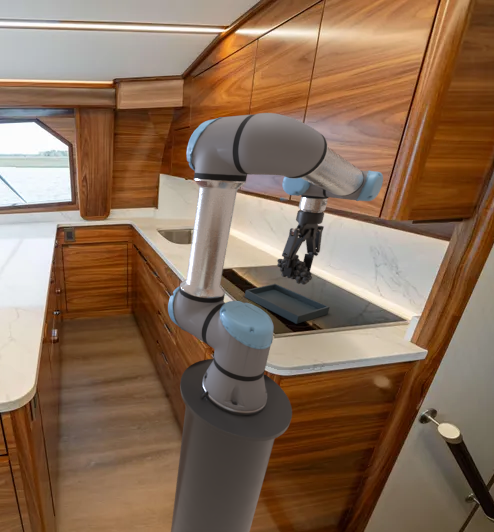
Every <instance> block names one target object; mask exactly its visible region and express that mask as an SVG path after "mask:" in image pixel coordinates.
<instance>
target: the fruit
mask: <svg viewBox="0 0 494 532" xmlns="http://www.w3.org/2000/svg"><path fill="white" fill-rule="evenodd" d="M299 257H300V256H299V255H298V254H296V255H295V257H294V259H295V263H294V268H293V272H292V276H291V277H288V276H285V275H283V272H284V268H285V261H286V257H283V258H278V259H277V260H276V261H277V264H276V266H277V267H278V268H279V271H280V272H281V277H282V278H287V279H291V280H295V283H296V284H298V285H305V286H306V285H307V283H309V282H310V281H311V280H313V276H312V272H311V271H310V272H309V271H307V269H308V268H307V267H306V266H305V265H306V264H305V262H303V261H304V260H303V261H302V260H301V259H299Z"/></svg>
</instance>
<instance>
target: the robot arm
mask: <svg viewBox="0 0 494 532" xmlns="http://www.w3.org/2000/svg"><path fill="white" fill-rule="evenodd" d="M192 132H193V133H192V134H191V136H190V138H189V140H188V143H187V146H186V161H187V162H188V166H189V168H190V169H191V170H193V171H194V173H193V174H194V176H193V181H194V182H195V183H196V184H197V186H198V193H197V200H196V207H195V209H196V210H195V214H194V223H193V229H192V238H191V245H190V252H189V257H188V258H189V259H188V266H187V271H186V272H187V273H186V279H184V280H183V281H181V282H180V283H179V286H177V287H176V288H175V289H174V290H173V292H172V295H170V296H169V300H168V303H167V311H168V312H167V313H168V315H169V318H170V320H171V321H172V322H173V323H174V324H175V325H176V326H178V328H180V329H181V330H182V331H184V332H187V333H188V334H190V335H192V336H193V337H194V338H196V339H197V340H199V341H201V342H203V343H204V344H206V345H207V346H209V347H211V348H212V349H213V350H214V351H213V352H214V353H213V358H212V359H213V361H212V363H211V365H210V366H209V368H208V369H207V371H206V373H205V375H204V377H203V382H202V389H203V392H204V394H203V395H202V396H201V398H202V399H203V398H204V397H207V399H208V400H209V401H210V402H211V403H212V404H213V405H215V406H216V407H218V408H219V409H221V410H223V411H225V412H227V413H230V414H233V415H238V416H253V415H256V414H259V413H260V412H262V411H263V410H264V408H265V406H266V402H267V391H266V388H265V381H264V375H265V370H266V367H267V362H268V359H269V355H270V350H271V346H272V344H273V341H274V337H273V336H274V329H275V327H274V323H273V320H272V318H271V317H270V315H269V314H268V313H267V312H265V311H264V310H263V309H261V307H259V306H256V305H255V304H252V303H249V302H242V301H240V300H230V301H226V302H225V296H226V289H225V288H224V287H223V286H222V284H221V282H222V277H223V272H224V266H225V259H226V255H227V250H228V243H229V239H230V232H231V228H232V227H231V226H232V223H233V222H232V221H233V216H234V210H235V205H236V200H237V195H238V194H237V193H238V190H239V189H240V188H241V187H242V186H243V185H245V184H246V183H247V178H248V175H259V176H264V175H265V176H283V179H282V189H283V191H284V192H285V194H287V195H289V196H296V197H298V196H300V199H299V204H298V209H299V210H297V213H296V217H295V220H296V222H297V226H296V227H295V228H292V227H291V228H290V229H289V234H288V237H287V240H286V243H285V246H284V248H283V251H282V253H281V257H283V258H284V257H286V261H285V268H284V272H283V275H285V276H286V277H287V276H288V277H291V276H292V272H293V268H294V263H295V259H294V257H295V255H297V253H298V251H299V250H300V248H301V246H302V244H303V243H304V242H305V245H306V253H304V256H303V262H305V264H306V265H305V266H306V267H307V268H308V269H307V271H309V272H311V268H312V265H313V261H314V258H315V257H317V256H319V254H320V252H321V244H322V237H323V236H322V235H323V231H324V227H325V226H323V225H321V224H323V220H324V217H325V212H324V211H326V208H327V205H328V200H329V198H332V199H340V200H347V201H356V202H359V201H360V202H372V201H373V200H375V199H376V198H377V196H378V195H379V194H380V192H381V189H382V187H383V183H384V174H383V172H380V171H375V170H374V171H373V170H370V169H369V170H361V169H360V168H358V167H357V166H356V165H354V164H353V163H352V162H350V161H349V160H347V159H346V158H344V157H343V156H342V155H340V154H339V153H337V152H336V150H333V149H332V148H331V147H329V146H328V145H329V144H328V140H327V139H326V137H325V136H324V135H323V134H322V133H321V132H319V131H318V130H316V129H315V128H314V127H312V126H311V125H308V124H307V123H304V122H302V121H300V120H298V119H296V118H293V117H290V116H287V115H284V114H279V113H276V112H275V113H274V112H260V113H255V114H243V115H232V116H220V117H218V118H214V119H208V120H206V121H203V122H202V123H200V124H199V125H198V127H197V128H196V129H194V130H193V131H192ZM327 198H328V199H327Z"/></svg>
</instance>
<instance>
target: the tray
mask: <svg viewBox="0 0 494 532" xmlns="http://www.w3.org/2000/svg"><path fill="white" fill-rule="evenodd" d="M244 298H246V299H248V300H250V301H251V302H254V303H255V304H258V305H260V306H261V307H263V308H265V309H266V310H269V311H271V312H273V313H275V314H276V315H279V316H281V317H282V318H284V319H286V320H288V321H290V322H292V323H294V324H296V325H297V324H301V323H304V322H308V321H311V320H313V319H317V318H320V317H323V316H327V315H328V314H329V312H330V307H331V306H328V305H326V304H324V303H321V302H320V301H317V300H315V299H312V298H310V297H308V296H305V295H303V294H301V293H299V292H296V291H293V290H291V289H289V288H287V287H284V286H282V285H279V284H277V283H272V284H267V285H262V286H258V287H254V288H250V289H246V290H245V293H244Z"/></svg>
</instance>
